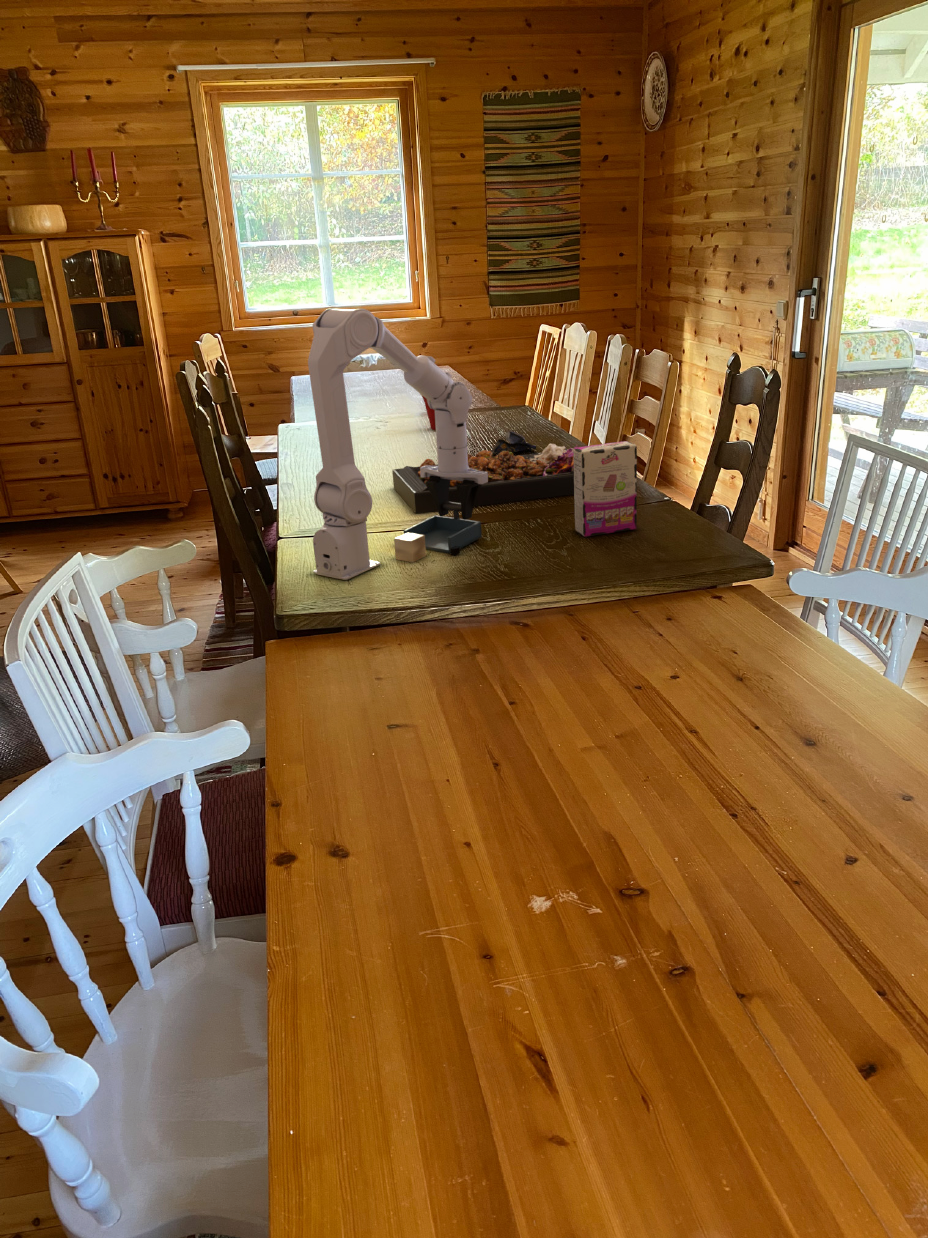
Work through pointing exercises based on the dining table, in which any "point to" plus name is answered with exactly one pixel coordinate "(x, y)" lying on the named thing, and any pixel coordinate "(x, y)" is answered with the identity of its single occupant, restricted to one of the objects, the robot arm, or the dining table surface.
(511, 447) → the snack package
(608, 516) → the candy bar box
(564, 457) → the food platter
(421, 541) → the block
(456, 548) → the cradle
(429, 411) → the plastic cup
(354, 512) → the robot arm
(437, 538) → the tray
